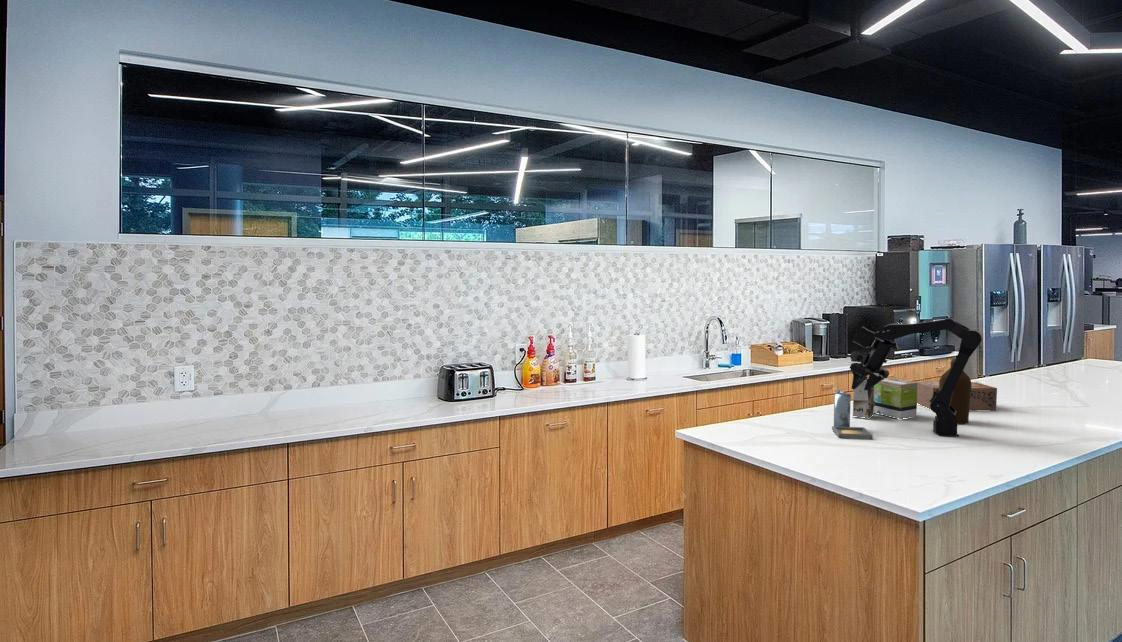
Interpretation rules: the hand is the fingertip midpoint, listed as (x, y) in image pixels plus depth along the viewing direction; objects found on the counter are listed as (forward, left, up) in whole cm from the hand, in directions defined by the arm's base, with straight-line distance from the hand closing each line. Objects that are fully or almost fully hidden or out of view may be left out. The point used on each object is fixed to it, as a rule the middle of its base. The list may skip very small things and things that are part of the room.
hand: (859, 389), depth 238 cm
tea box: (-17, -18, -14) cm, 29 cm away
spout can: (+8, +7, -14) cm, 17 cm away
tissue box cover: (-48, -39, -14) cm, 64 cm away
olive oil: (-37, -10, -14) cm, 41 cm away
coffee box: (-5, -14, -14) cm, 21 cm away
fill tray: (+7, +18, -14) cm, 23 cm away
